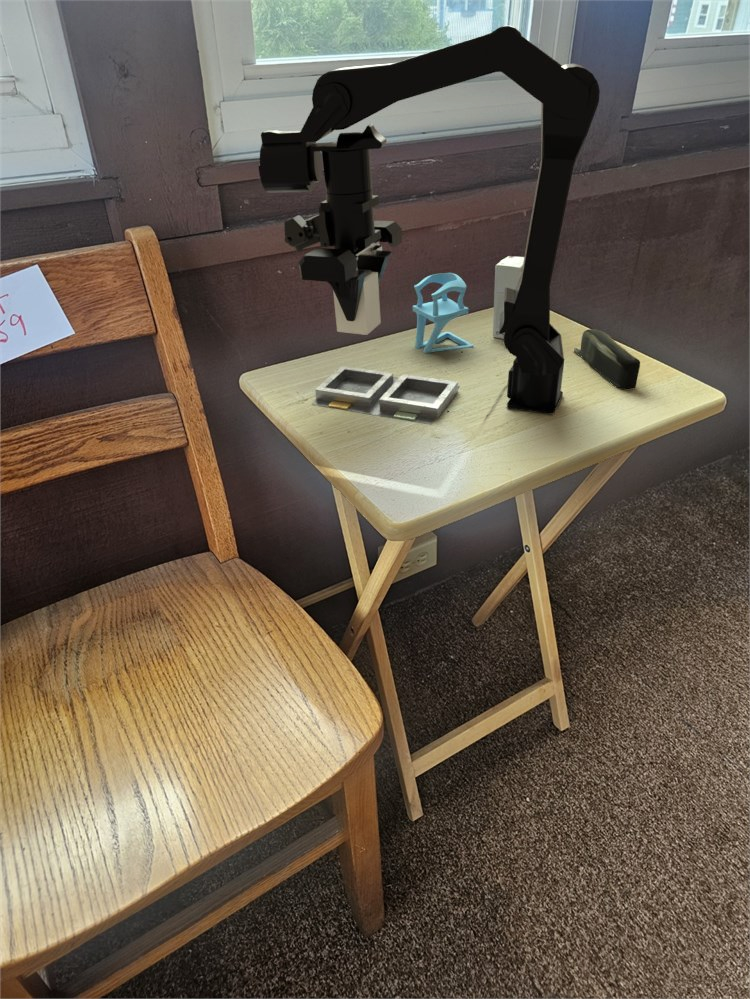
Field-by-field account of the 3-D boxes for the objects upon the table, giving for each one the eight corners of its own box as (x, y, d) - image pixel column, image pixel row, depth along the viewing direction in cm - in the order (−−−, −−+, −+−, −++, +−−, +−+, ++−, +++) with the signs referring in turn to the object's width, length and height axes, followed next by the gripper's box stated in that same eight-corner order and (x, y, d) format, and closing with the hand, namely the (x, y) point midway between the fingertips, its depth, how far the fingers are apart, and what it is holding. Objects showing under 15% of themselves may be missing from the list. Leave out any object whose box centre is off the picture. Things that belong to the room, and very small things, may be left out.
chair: (406, 347, 112) (404, 275, 105) (448, 336, 115) (448, 265, 108) (431, 363, 107) (430, 288, 100) (474, 350, 110) (476, 276, 103)
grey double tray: (461, 391, 98) (461, 376, 96) (433, 429, 89) (433, 414, 88) (347, 375, 104) (346, 361, 103) (311, 409, 96) (309, 394, 94)
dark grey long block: (645, 359, 93) (590, 320, 105) (626, 362, 92) (573, 323, 104) (638, 391, 96) (586, 350, 108) (619, 394, 95) (569, 352, 107)
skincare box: (516, 341, 112) (521, 267, 105) (490, 337, 114) (494, 265, 107) (527, 328, 116) (533, 256, 109) (503, 325, 118) (507, 254, 111)
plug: (380, 323, 93) (377, 268, 88) (367, 334, 89) (363, 279, 85) (348, 319, 95) (343, 266, 90) (333, 331, 91) (328, 276, 87)
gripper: (326, 175, 92) (336, 288, 101) (252, 205, 78) (272, 333, 87) (401, 176, 88) (405, 294, 97) (336, 208, 74) (348, 342, 83)
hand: (358, 314), depth 91 cm, fingers closed on plug, 4 cm apart
